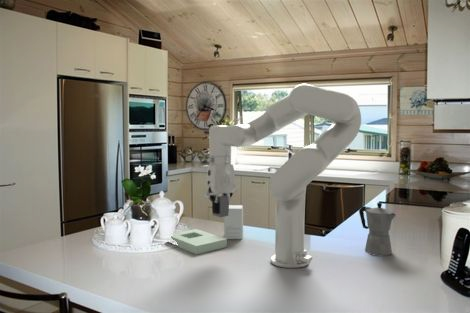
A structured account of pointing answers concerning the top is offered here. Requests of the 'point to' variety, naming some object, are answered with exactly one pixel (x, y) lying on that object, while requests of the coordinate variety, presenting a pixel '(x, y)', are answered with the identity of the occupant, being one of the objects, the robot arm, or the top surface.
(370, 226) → the coffeepot
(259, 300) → the top surface
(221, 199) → the plug
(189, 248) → the socket plate
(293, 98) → the robot arm
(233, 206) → the supplement box
